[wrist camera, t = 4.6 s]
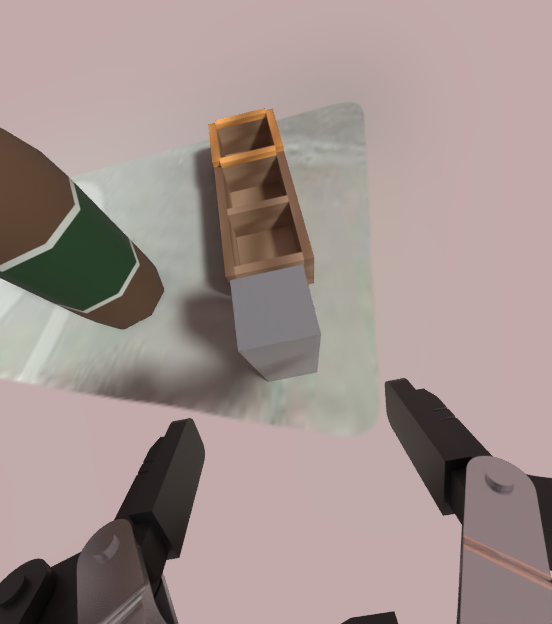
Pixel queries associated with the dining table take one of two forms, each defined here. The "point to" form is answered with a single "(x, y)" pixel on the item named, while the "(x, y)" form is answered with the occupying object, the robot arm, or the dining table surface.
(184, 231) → the dining table surface
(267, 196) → the bay rack
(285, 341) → the block
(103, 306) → the beer bottle
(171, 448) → the robot arm
